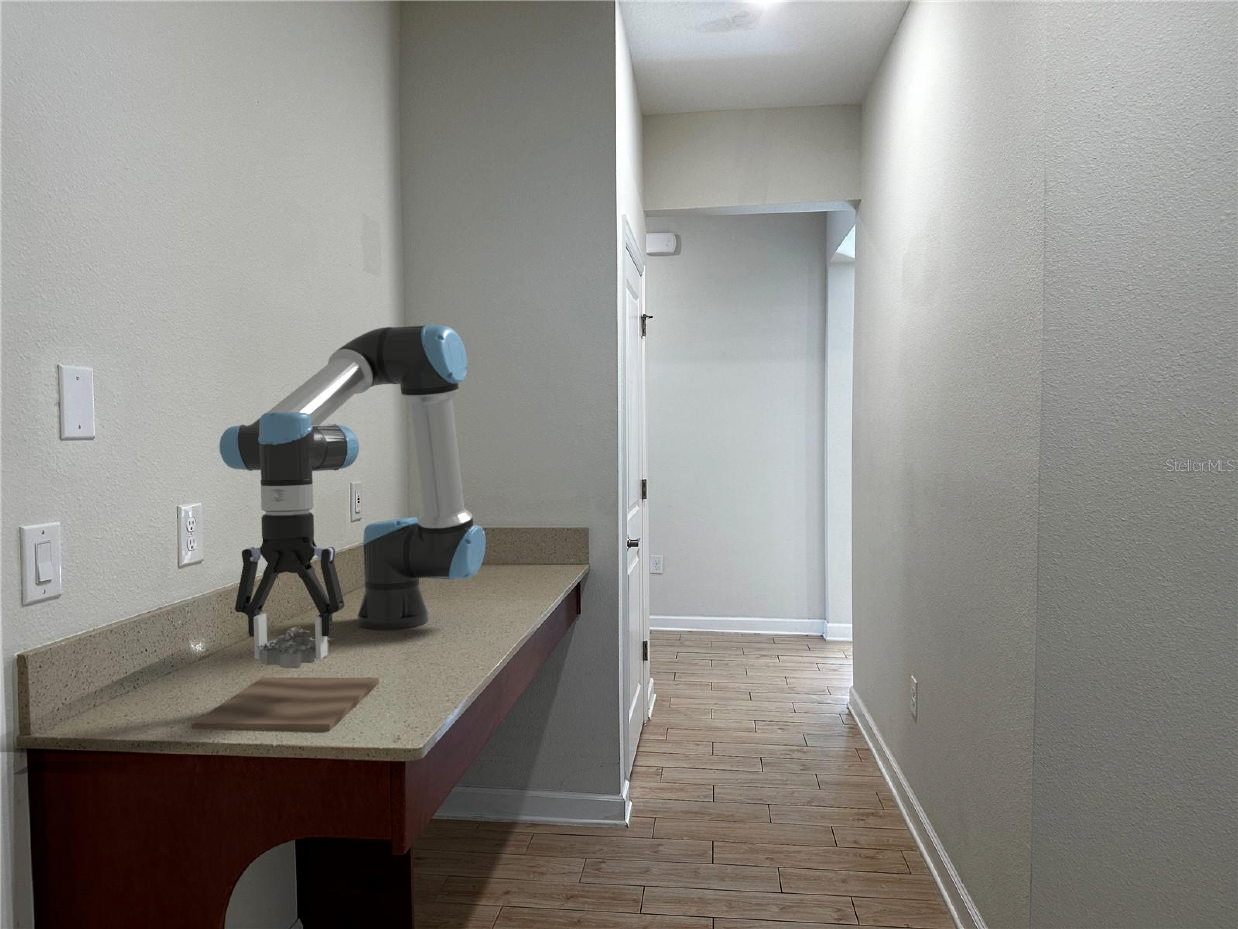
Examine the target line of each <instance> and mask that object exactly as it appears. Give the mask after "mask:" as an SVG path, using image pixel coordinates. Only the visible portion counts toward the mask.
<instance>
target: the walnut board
mask: <svg viewBox="0 0 1238 929" xmlns="http://www.w3.org/2000/svg"><path fill="white" fill-rule="evenodd" d="M378 685H380V678H379V677H261V678H259V679H257V680H256V681H254V682H252V684H250V685H248V686H247V687H245V688H244V689H243V690H241V691H239V692H238V693H236V694H234V695H233V696H232V697H230V698H229V699H227V700H226V701H224V702H223V703H221V704H219V705H218V706H216V707H214V708H213V709H212V710H210V711H209V712H207V713H206V714H204V715H203V716H201V717H200V718H198V719H196V720H194V722H192V723H191V725H192V726H191V729H217V730H218V729H222V730H223V729H224V730H226V729H227V730H262V731H263V730H264V731H265V730H267V731H268V730H269V731H273V730H274V731H307V732H309V731H310V732H311V731H315V732H316V731H317V732H318V731H319V732H321V731H322V732H323V731H324V732H330V731H331V730H333V729H334V728H335V726H337V725H338V724H339V723H340V722H341V721H342V720H343V719H344V718H346V716H347V715H348V714H349V713H351V711H353V710H354V709H355V708H356V707H357V705H359V703H361V702H362V701H363V700H364V699H365V698H366V697H367V696H368V695H369V694H370V693H371V692H372V691H374V689H375V688H376V687H377V686H378Z"/></svg>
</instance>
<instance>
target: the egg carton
mask: <svg viewBox="0 0 1238 929" xmlns="http://www.w3.org/2000/svg"><path fill="white" fill-rule="evenodd" d="M333 640H334V639H333V637H332V638H329V636H327V654H328V655H326V656H325V657H323V658H322V659H326V658H328V656H329V645H330V644H329V642H328V641H333ZM256 647H258V649H261V659H259V661H260V664H261V665H264V666H273V665H274V666H275V665H276V666H279V668H282V669H299V668H301V664H313V663H315V662H316V638H314V639H313V635H312V632H311V631H310V630H306V629H303V628H302V625H298V626H296V625H295V626H294V627H292V628H291V627H290V628H289V629H288V630H286V631H285V634H283V635H278V636H277V638H275V639H273V640H269V641H268V640H267V643H265V644H264V645H261V646H256Z"/></svg>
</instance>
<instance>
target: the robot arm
mask: <svg viewBox="0 0 1238 929" xmlns="http://www.w3.org/2000/svg"><path fill="white" fill-rule="evenodd" d="M467 368H468V357H467V353H466V349H465V345H464V342H463V341H462V339H461V337H460V335H459V334H457V332H456V331H455V330H454V329H453V328H452V327H449V326H447V325H436V324H435V325H434V324H427V325H426V324H425V325H413V326H412V325H409V326H395V327H394V326H389V327H387V326H385V327H380V328H375V329H372V330H369V331H367V332H364V333H362V334H361V335H359V336H357V337H355V338H354V339H352V340H350V341H348V342H347V343H345V344H344V345H342V346H341V347H339V348H338V349H337V350H335V351H334V352H333V353H332V354H331V355H330V357H329V358H328V362H327V364H326V365H325V366H324V367H323V368H321V369H320V370H319V371H317V373H315V374H313V376H312V377H310V378H308V380H306V381H305V382H304V383H303V384H300V386H298V387H297V388H296V389H295V390H294V391H291V393H289V394H288V395H287V396H285V397H284V399H282V400H280V401H279V402H278V403H277V404H276V405H275V406H273V407H272V408H271V409H269V410H268V411H267V412H265V413H263V414H262V415H260V417H258V419H256V420H255V421H254V422H253V423H251V424H248V425H246V424H239V425H234V426H229V427H228V428H227V429H225V430H224V431H223V433H222V435H221V436H220V439H219V444H218V445H219V455H220V456H221V458H222V461H223V463H225V465H226V466H228V467H229V468H230V469H234V470H243V471H244V470H245V471H249V472H251V471H260V509H261V511H263V512H265V513H264V514H263V515H262V516H261V518H260V519H261V538H262V542H261V545H260V547H254V546H253V547H248V548H245V549H243V550H242V551H241V559H242V569H241V575H240V579H239V580H240V581H239V586H238V591H237V596H236V601H235V607H234V610H235V612H236V613H242V614H244V615H246V616H247V620H248V623H247V626H248V635H249V637H253V639H254V640H253V642H254V643H253V647H254V660H260V659H261V649H258V647H256V646H261V645H264V644H265V643H267V642H268V637H267V636H268V629H267V628H268V626H267V625H268V622H267V613H262V612H263V611H264V610H263V608H264V605H265V603H266V601H267V599H268V597H269V595H270V592H272V591H271V590H272V588H273V586H274V584H275V582H276V581H277V577H278V576H279V575H280V574H283V573H290V574H297V575H298V577H299V578H300V579H301V580H302V582H303V584H304V586H305V588H306V590H307V592H308V594H309V596H310V598H311V599H312V601H313V603H314V605H315V607H316V610H317V611H318V613H319V614H318V615H317V616H315V617H314V629H315V632H314V634H315V636H314V637H315V638H314V639H316V658H315V660H322V659H324V658H323V657H325V656H326V655H328V656H329V653H328V654H327V637H329V636H331V635H332V634H333V631H334V629H333V623H334V622H333V614H334V613H337V612H339V611H342V609H344V608H345V600H344V597H343V594H342V589H341V584H340V581H339V576H338V573H337V569H336V565H335V556H336V549H335V548H334V547H333V546H329V547H322V546H321V547H320V546H317V544H316V542H315V539H314V538H315V537H314V536H315V523H314V522H315V520H314V519H315V518H314V517H315V516H314V515H315V514H313V513H312V512H310V510H312V509H314V488H313V487H314V486H313V483H314V481H313V472H321V471H339V470H340V469H346V468H348V467H350V466H352V465H353V464H354V462H355V461H356V459H357V458H358V455H359V451H360V443H359V439H358V437H357V434H356V433H355V432H354V431H353V430H352V429H350V428H349V427H347V426H346V425H340V424H339V425H338V424H336V423H333V424H331V423H330V424H329V423H328V424H322V423H323V422H325V421H326V419H328V418H329V417H330V416H331V415H332V414H334V413H335V412H336V411H337V410H339V409H340V408H341V407H342V406H343V405H344V404H345V403H346V402H347V401H348V400H350V399H351V398H352V397H353V396H354V395H358V394H363V393H365V392H366V391H368V390H369V389H370V388H371V387H372V388H373V387H375V386H380V385H381V386H382V385H400V394H401V396H402V397H403V398H405V400H407V401H408V402H409V404H410V413H411V420H412V429H413V436H414V446H415V454H416V462H417V470H418V479H419V486H420V494H421V500H422V501H421V503H422V511H423V513H422V514H421V516H419V518H418V517H416V516H413V517H411V516H410V517H403V518H394V519H389V520H383V521H378V522H377V521H376V522H373V523H369V524H367V525H366V526H365V528H364V531H363V543H362V547H363V569H364V570H363V571H364V574H363V575H364V593H363V597H362V599H361V603H360V606H359V610H358V613H357V617H356V621H357V622H356V623H357V626H358V627H359V628H361V629H365V630H368V631H369V630H370V631H400V630H401V631H402V630H408V629H414V628H418V627H422V626H424V625H426V624H428V622H429V611H428V608H427V605H426V602H425V600H424V596H423V594H422V591H421V588H420V579H432V580H447V581H448V580H450V581H453V582H454V581H456V580H459V581H460V580H470V579H472V578H473V577H474V576H475V575H476V574H477V573H478V572H479V570H480V568H481V566H482V563H483V561H484V558H485V553H486V543H487V542H486V540H487V539H486V532H485V530H484V528H483V527H482V526H480V525H478V524H474V520H473V519H474V518H473V514H472V512H470V511H469V510H468V509H466V508H465V502H464V495H463V494H464V493H463V492H464V491H463V484H462V482H463V481H462V474H461V473H462V472H461V465H460V456H459V455H460V454H459V447H458V439H457V430H456V428H457V427H456V419H455V411H454V402H453V401H454V400H453V398H454V396H455V395H456V394H457V393H458V391H460V390H459V383H462V382H463V381H464V379H466V376H467V372H468V371H467ZM315 556H316V557H317V561H318V562H320V569H321V573H322V577H323V581H324V586H325V589H324V588H323V586H322V584H321V582H320V580H319V579H318V576H317V574H316V571H315V567H314V566H313V563H312V562H311V561H312V560H313V558H314V557H315ZM261 557H262V558H263V559H264V561H265V562H266V563H267V564H266V566H265V568H264V571H263V573H262V578H261V580H260V582H259V584H258V586H257V588H256V591H255V593H254V595H253V591H254V587H255V581H256V575H257V571H258V565H259V561H260V560H261ZM325 590H326V592H325ZM252 596H253V597H252Z"/></svg>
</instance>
